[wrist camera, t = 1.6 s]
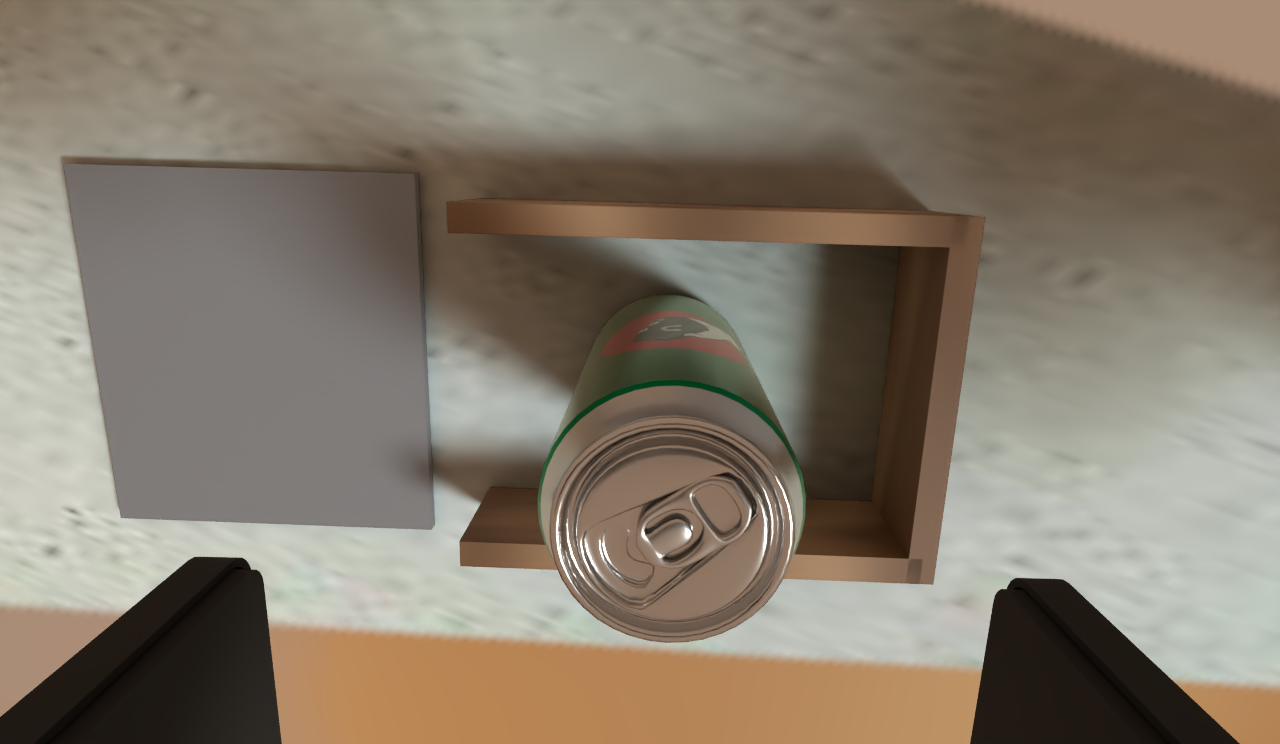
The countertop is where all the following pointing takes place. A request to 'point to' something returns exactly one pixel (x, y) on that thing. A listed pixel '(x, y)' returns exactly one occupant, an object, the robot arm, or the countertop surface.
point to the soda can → (670, 478)
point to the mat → (259, 342)
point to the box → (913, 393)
